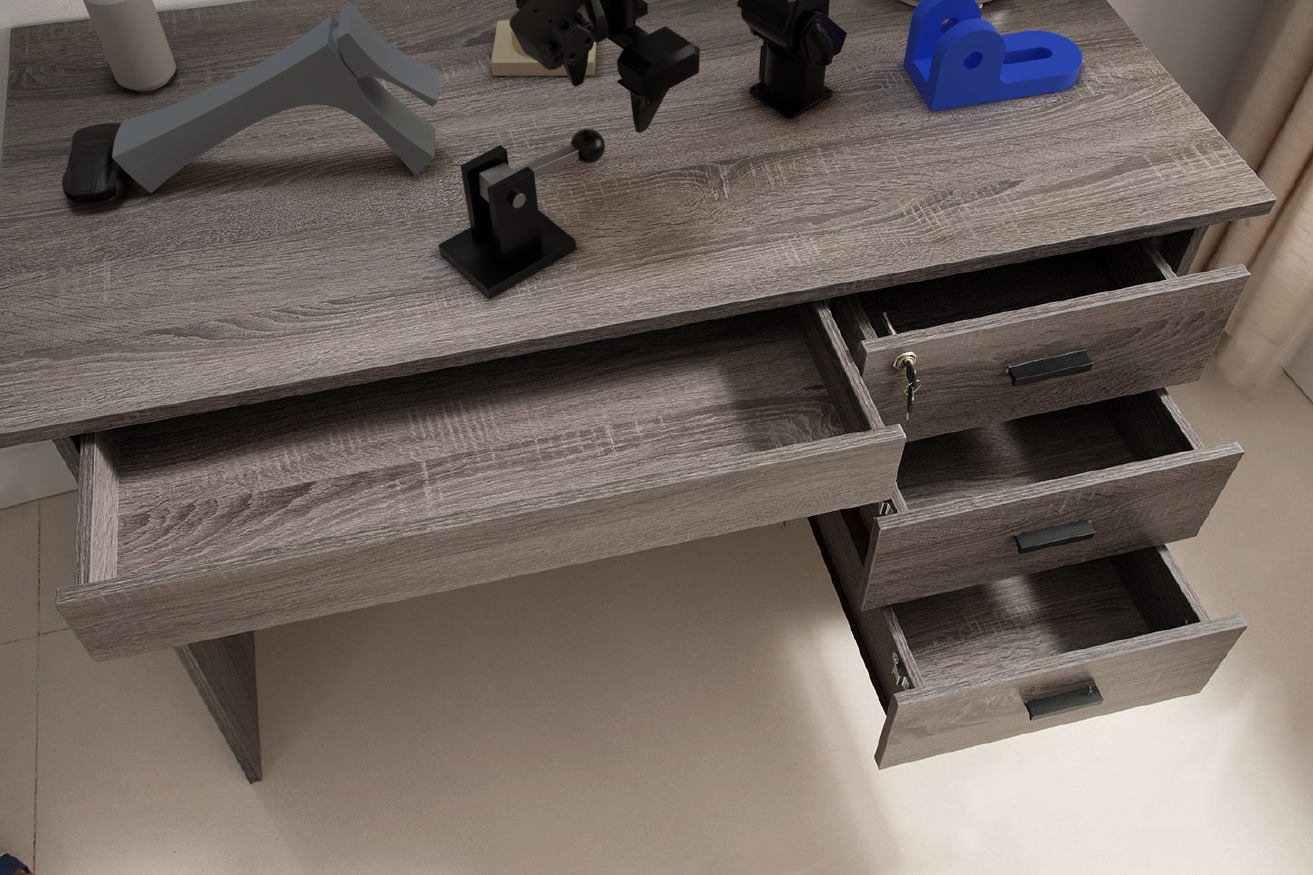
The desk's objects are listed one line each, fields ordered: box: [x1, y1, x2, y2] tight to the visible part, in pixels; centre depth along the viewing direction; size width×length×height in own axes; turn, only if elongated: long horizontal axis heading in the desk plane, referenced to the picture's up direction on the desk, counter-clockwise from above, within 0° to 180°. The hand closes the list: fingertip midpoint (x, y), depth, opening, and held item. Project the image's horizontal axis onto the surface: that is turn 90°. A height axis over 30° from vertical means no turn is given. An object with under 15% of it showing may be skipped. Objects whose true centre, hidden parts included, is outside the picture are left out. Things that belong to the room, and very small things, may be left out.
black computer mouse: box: [61, 122, 130, 206], centre depth 121 cm, size 6×12×4 cm, turn 9°
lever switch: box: [438, 144, 577, 300], centre depth 111 cm, size 10×8×10 cm
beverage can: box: [82, 0, 177, 92], centre depth 128 cm, size 6×6×12 cm
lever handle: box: [479, 127, 606, 202], centre depth 111 cm, size 13×3×3 cm, turn 131°
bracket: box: [902, 0, 1083, 112], centre depth 128 cm, size 18×8×9 cm, turn 104°
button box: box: [490, 20, 598, 77], centre depth 134 cm, size 11×8×4 cm
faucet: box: [112, 3, 441, 194], centre depth 120 cm, size 6×17×30 cm
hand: (609, 107), depth 112 cm, fingers open, 9 cm apart
